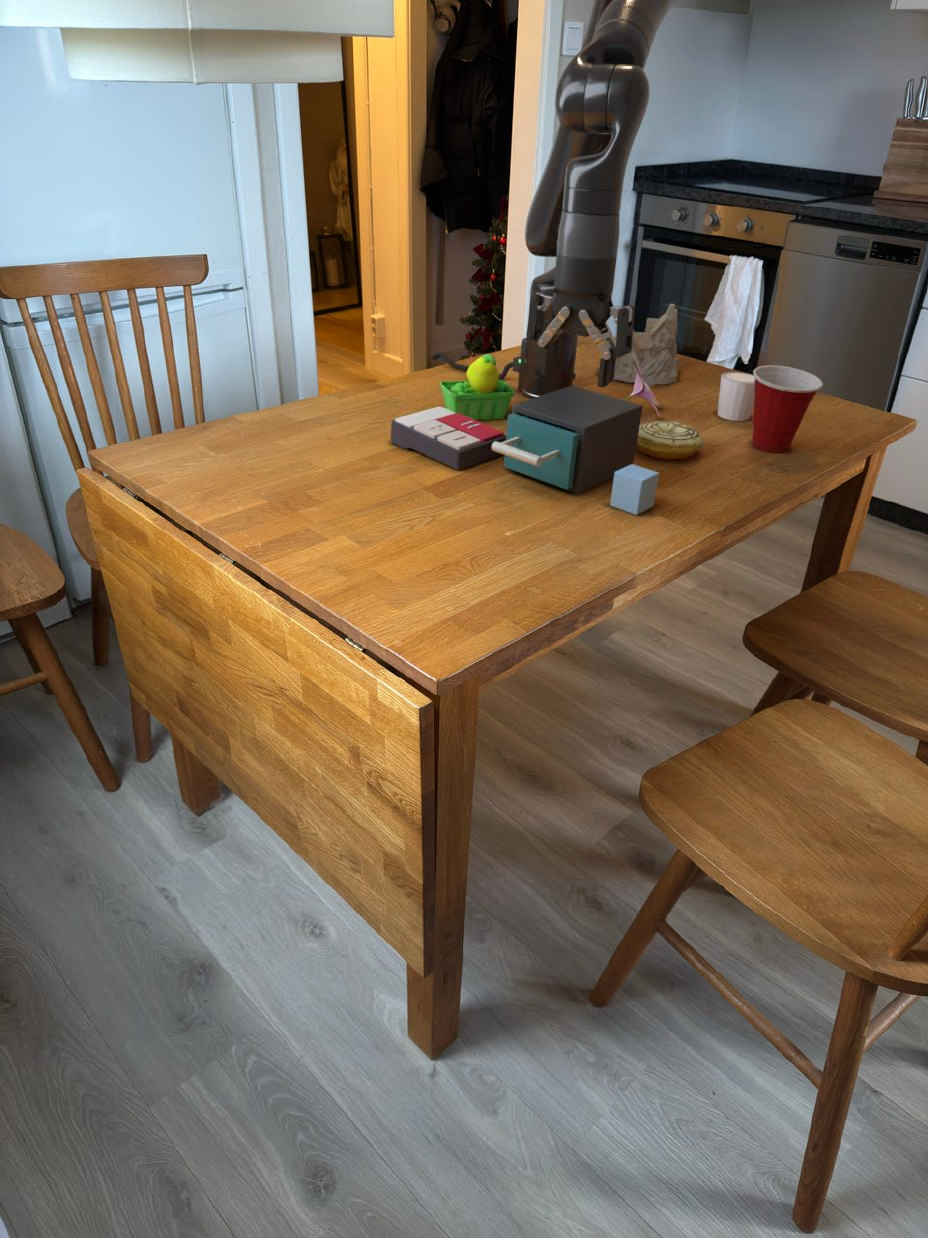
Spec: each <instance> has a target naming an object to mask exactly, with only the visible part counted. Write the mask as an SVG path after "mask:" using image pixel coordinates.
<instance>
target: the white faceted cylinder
mask: <svg viewBox="0 0 928 1238" xmlns="http://www.w3.org/2000/svg"><path fill="white" fill-rule="evenodd" d="M719 385H720V386H719V395H718V404H717V416H718V417H719V418H722V419H725V420H727V421H734V422H745V421H747V420H749V419H750V417H751V413H752V410H753V409H754V398H755V391H754V389H755V378H754V374H750V373H746V372H738V371H731V372H730V371H729V372H724V373H722V374H721V375H720V383H719Z"/></svg>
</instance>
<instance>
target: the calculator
mask: <svg viewBox="0 0 928 1238" xmlns="http://www.w3.org/2000/svg"><path fill="white" fill-rule="evenodd" d="M495 441H497V442H500V443H501V442H504V441H506V434H504V431H502V430H499V429H498V428H495V427H492V426H491V425H487V424H486V423H483V422H481V421H480V420H474V419H472V418H469V417H467V416H465V415H462V414H460V413H455V412H453V411H450V410H448V409H446V407H443V406H436V407H431V408H429V409H425V410H422V411H417V412H414V413H410V414H407V415H403V416H399V417H397V418H395V419H393V420H391V422H390V443H391V444H394V445H396V446H398V447H400V448H402V449H404V450H409V449H412V450H413V451H415V452H418V453H420V454H422V455H424V456H426V457H428V458H430V459H432V460H435V461H437V462H439V463H441V464H443V465H445V466H447V467H449V468H452V469H453V470H456V471H460V470H463V469H466V468H469V467H471V466H474V465H477V464H481V463H483V462H486V461H489V460H491V459H494V458H497V457H500V456H503V454H501V453H498V452H495V451H493V450H492V444H493V442H495Z"/></svg>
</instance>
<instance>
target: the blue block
mask: <svg viewBox="0 0 928 1238" xmlns="http://www.w3.org/2000/svg"><path fill="white" fill-rule="evenodd" d="M659 477H660V472H657V471H655V470H652V469H649V468H645V467H643V466H639V465H638V464H637V465H636V464H635V463H634V464H631V465H629V466H627V467H624V468H622V469H620V470H618V471H616V472H615V474H614V477H613V481H612V488H611V496H610V503H609V506H610V507H613V508H616V509H619V510H622V511H624V512H627V513H630V514H632V515H635V516H638V515H639V514H642V513H644V512H645V511H647V510H649V509H651V508H653V507H654V505H655V499H656V493H657V487H658V481H659Z"/></svg>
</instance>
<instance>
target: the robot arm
mask: <svg viewBox="0 0 928 1238" xmlns="http://www.w3.org/2000/svg"><path fill="white" fill-rule="evenodd" d="M674 2H675V0H594V1H593V5H592V10H591V13H590V18H589V21H588V25H587V28H586V32H585V35H584V39H583V41H582V44H581V47H580V51H578V52H577V54H576V55H575V56H574V57H573V58H572V59H571V60H570V62H568V64H567V65H566V67H565V69H564V71H563V72H562V73H561V76H560V79H559V81H558V83H557V86H556V91H555V95H554V97H555V98H554V109H555V114H556V117H557V119H558V121H559V122H558V126H557V130H556V133H555V136H554V139H553V143H552V146H551V150H550V153H549V156H548V160H547V162H546V165H545V168H544V171H543V173H542V175H541V178H540V181H539V182H538V185H537V188H536V190H535V194H534V195H533V198H532V201H531V204H530V206H529V210H528V213H527V218H526V221H525V228H524V239H525V245H526V248H527V250H528V251H529V253H531V255H533V256H536V257H542V258H555V266H554V267H553V268H552V269H550V270H549V271H547V272H544V273H542V274H540V275H538V276H536V277H534V278H533V279H532V281H531V283H530V288H529V289H530V291H529V303H528V305H529V306H528V319H527V328H526V334H525V335H526V337H524V338H522V339H521V344H520V345H521V346H520V347H521V348H520V356H516V357H513V358H512V359H513V360H512V361H511V362H508V363H507V364H505V366H504V367H503V370H502V372H501V373H499V380H503V379H505V378H506V377H507V375H508V372H509V370H510V369H512V371H513V372H515V373H518V383H517V391H518V392H521V393H522V394H523V395H524V396H526V397H529V398H530V399H533V398H536V397H539V396H542V395H545V394H548V393H551V392H554V391H557V390H560V389H563V388H566V387H569V386H572V385H573V386H574V381H576V377H577V374H576V373H575V367H576V358H577V350H578V349H577V348H578V342H579V341H578V340H579V337H583V338H587V337H590V339H591V341H592V343H593V345H595V346H596V347H597V349H598V351H599V353H600V355H602V356H601V358H600V361H599V369H598V378H597V387H598V388H603V389H604V388H606V387H607V386H609V385H610V383H612V382H613V381H614V380H613V378H614V372H615V371H614V370H615V363H616V358H617V357H621V356H624V355H626V354H628V353H630V352H631V350H632V340H633V329H634V325H635V311H636V310H635V306H634V305H632V304H628V305H625V306H619V305H614V304H613V299H612V296H613V292H614V285H615V276H616V269H617V260H618V259H617V258H618V249H619V242H620V215H621V214H620V213H621V205H622V198H623V189H624V180H625V175H626V170H627V165H628V161H629V159H630V155H631V152H632V148H633V145H634V143H635V140H636V137H637V136H638V132H639V130H640V127H641V125H642V122H643V119H644V117H645V114H646V110H647V108H648V104H649V101H650V93H651V91H650V90H651V89H650V83H649V82H650V81H649V79H648V76H647V74H646V72H645V71H644V69H645V67H646V65H647V61H648V58H649V54H650V52H651V49H652V46H653V43H654V40H655V37H656V34H657V33H658V30H659V28H660V26H661V24H662V23H663V21H664V20H665V17H666V16H667V15H668V12H669V11H670V9H671V7H672V6H673V3H674ZM611 317H613V322H614V323H615V325H616V336H615V337H616V344H615V342H614V340H613V338H612V336H613V332H612V331H611V329H610V326H609V324H608V322H607V321H609V319H610V318H611ZM602 357H603V358H602ZM438 358H442V359H443V360H444V361H445V362H446V363H447V364H448V365H449V366H451V367H452V368H454V369H456V370H460V371H465V372H467V370H468V368H469V366H470V365H465V364H461V363H458V362H455V361H454V360H452V359H451V358H450V357H449V356H448V355H447V354H445V353H444V352H442V351H437V352H435V353H434V354H433V355H432V356H431V357H430V360H437V359H438Z"/></svg>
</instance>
